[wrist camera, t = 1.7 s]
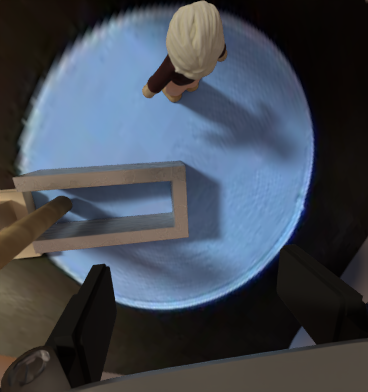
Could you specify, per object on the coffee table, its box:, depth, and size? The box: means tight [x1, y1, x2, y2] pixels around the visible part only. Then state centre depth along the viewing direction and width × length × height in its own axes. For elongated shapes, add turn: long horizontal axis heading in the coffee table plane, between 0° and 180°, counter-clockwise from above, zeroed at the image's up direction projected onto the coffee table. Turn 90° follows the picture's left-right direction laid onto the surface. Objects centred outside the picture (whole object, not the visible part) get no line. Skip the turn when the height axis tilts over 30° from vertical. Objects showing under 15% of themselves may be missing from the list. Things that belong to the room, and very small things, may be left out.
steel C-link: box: [13, 161, 189, 254], centre depth 23 cm, size 16×8×4 cm, turn 93°
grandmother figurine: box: [142, 1, 227, 102], centre depth 16 cm, size 8×4×13 cm, turn 128°
